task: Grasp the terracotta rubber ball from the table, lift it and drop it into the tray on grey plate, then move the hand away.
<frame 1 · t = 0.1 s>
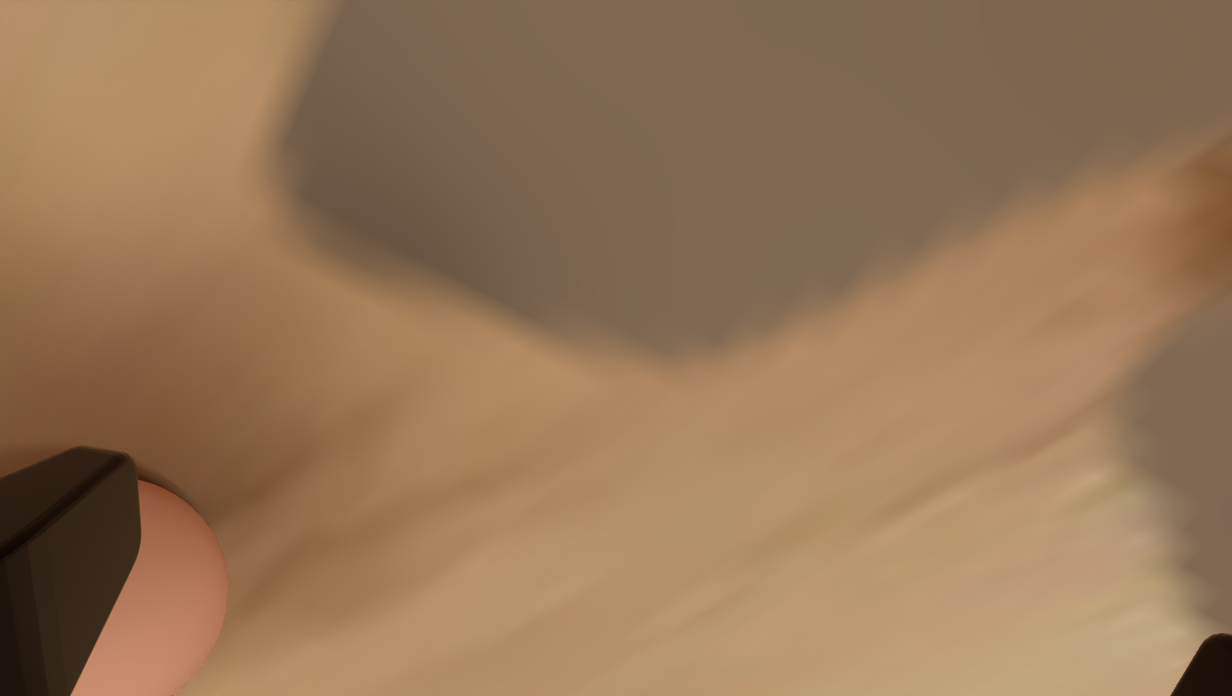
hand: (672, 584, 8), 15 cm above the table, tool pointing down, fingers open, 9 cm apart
terracotta ball: (96, 599, 24), point 3 cm above the table
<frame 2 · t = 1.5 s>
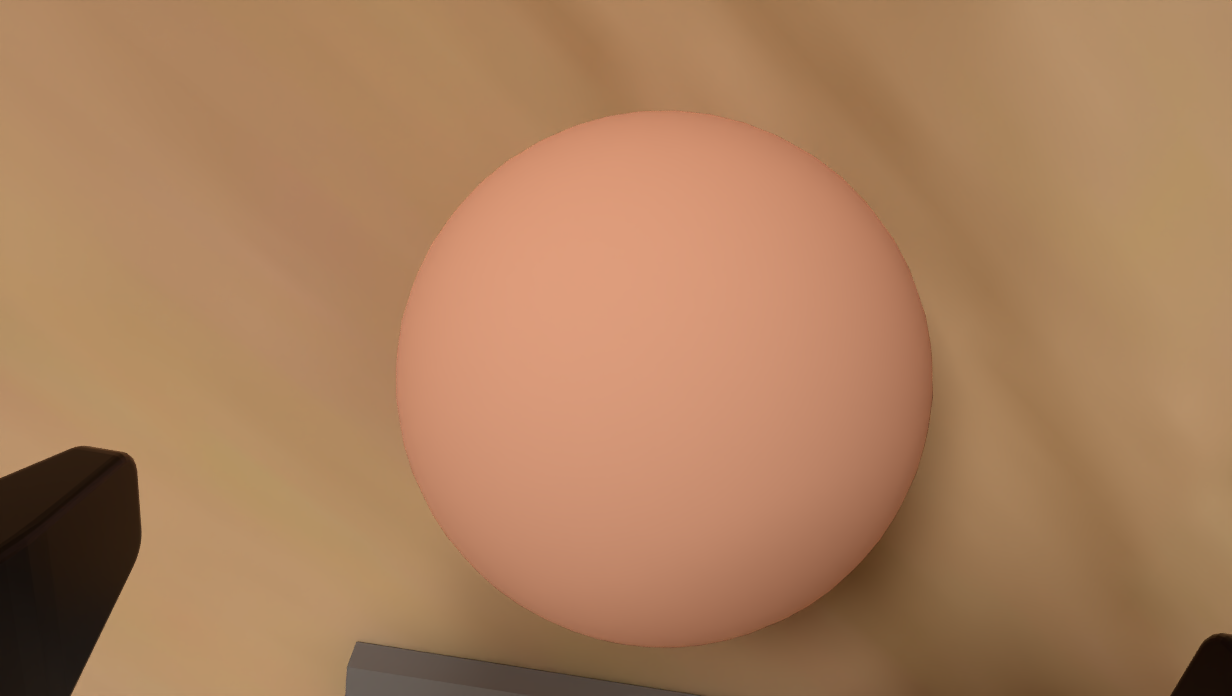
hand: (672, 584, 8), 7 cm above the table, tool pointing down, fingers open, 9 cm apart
terracotta ball: (661, 376, 12), point 3 cm above the table
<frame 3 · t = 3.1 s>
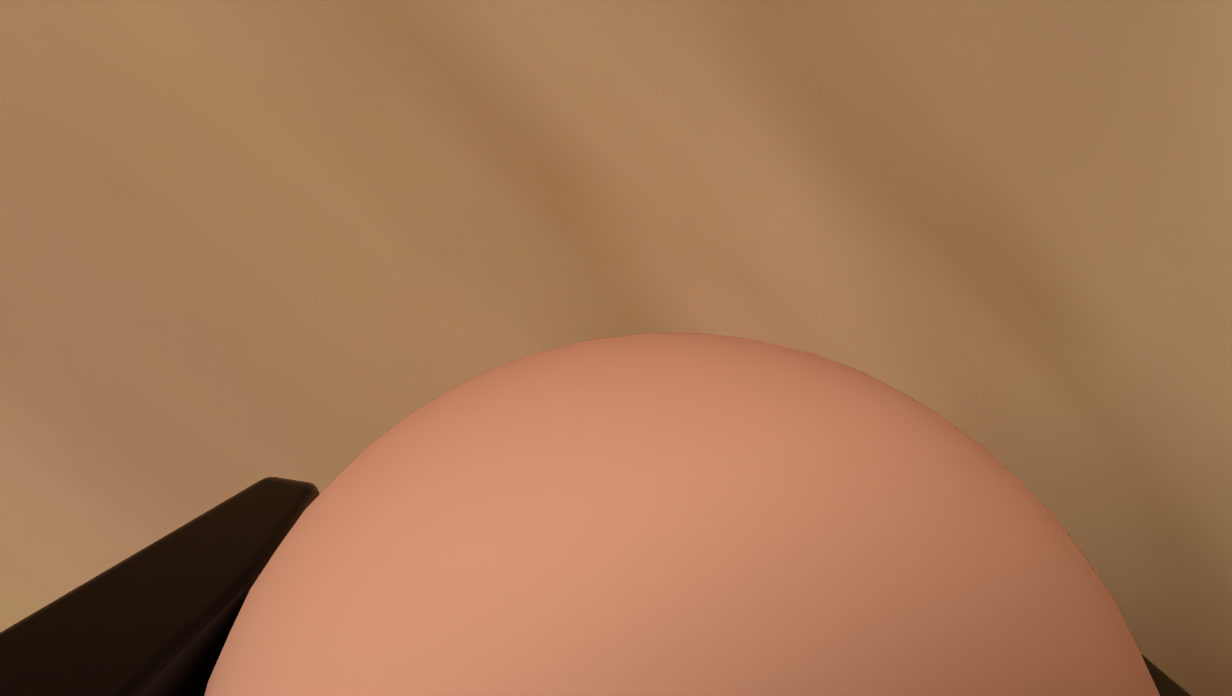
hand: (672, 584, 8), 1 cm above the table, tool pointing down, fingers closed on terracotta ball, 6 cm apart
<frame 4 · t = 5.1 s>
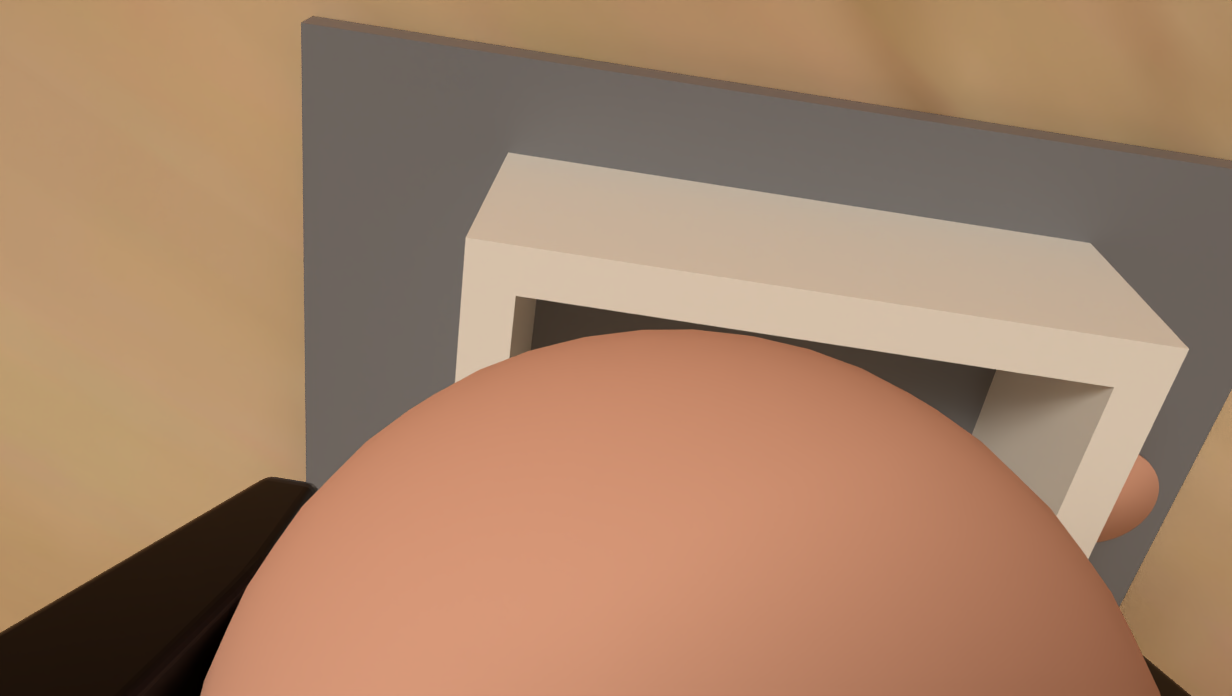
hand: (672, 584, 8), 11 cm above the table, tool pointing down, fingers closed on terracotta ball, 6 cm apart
tray on grey plate: (739, 424, 21), on the table
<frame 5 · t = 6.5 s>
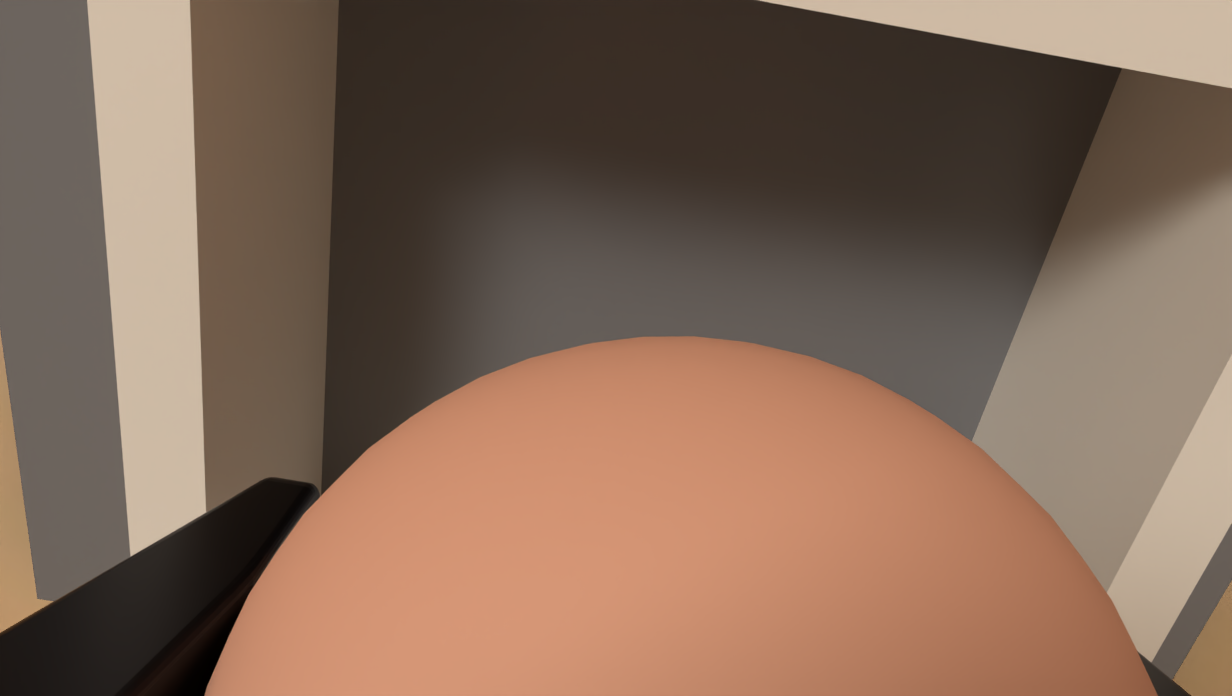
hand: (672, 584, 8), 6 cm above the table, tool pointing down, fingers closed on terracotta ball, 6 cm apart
tray on grey plate: (670, 289, 14), on the table
when the fingers open (6 cm above the table, at t = 7.3 s): terracotta ball drops 4 cm, resting on tray on grey plate.
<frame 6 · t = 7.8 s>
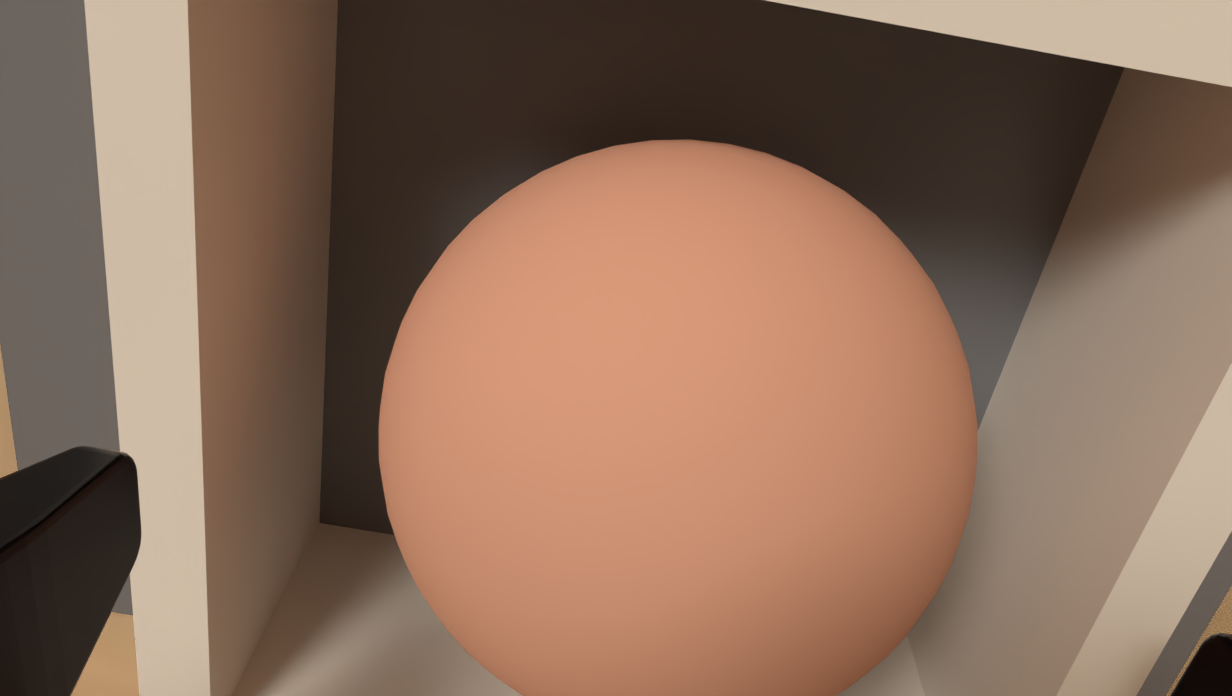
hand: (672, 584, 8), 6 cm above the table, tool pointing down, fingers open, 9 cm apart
tray on grey plate: (670, 289, 14), on the table
terracotta ball: (672, 432, 10), point 4 cm above the table, touching tray on grey plate
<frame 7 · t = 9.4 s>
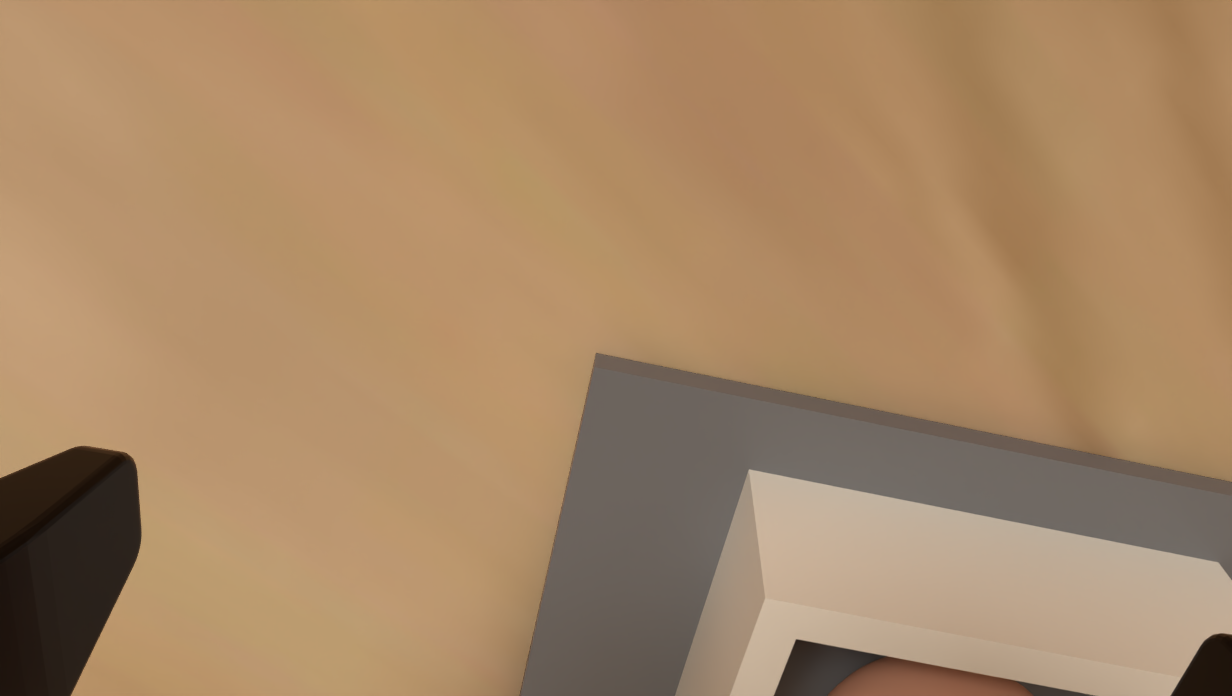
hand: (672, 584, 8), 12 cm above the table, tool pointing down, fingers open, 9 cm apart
tray on grey plate: (899, 670, 25), on the table
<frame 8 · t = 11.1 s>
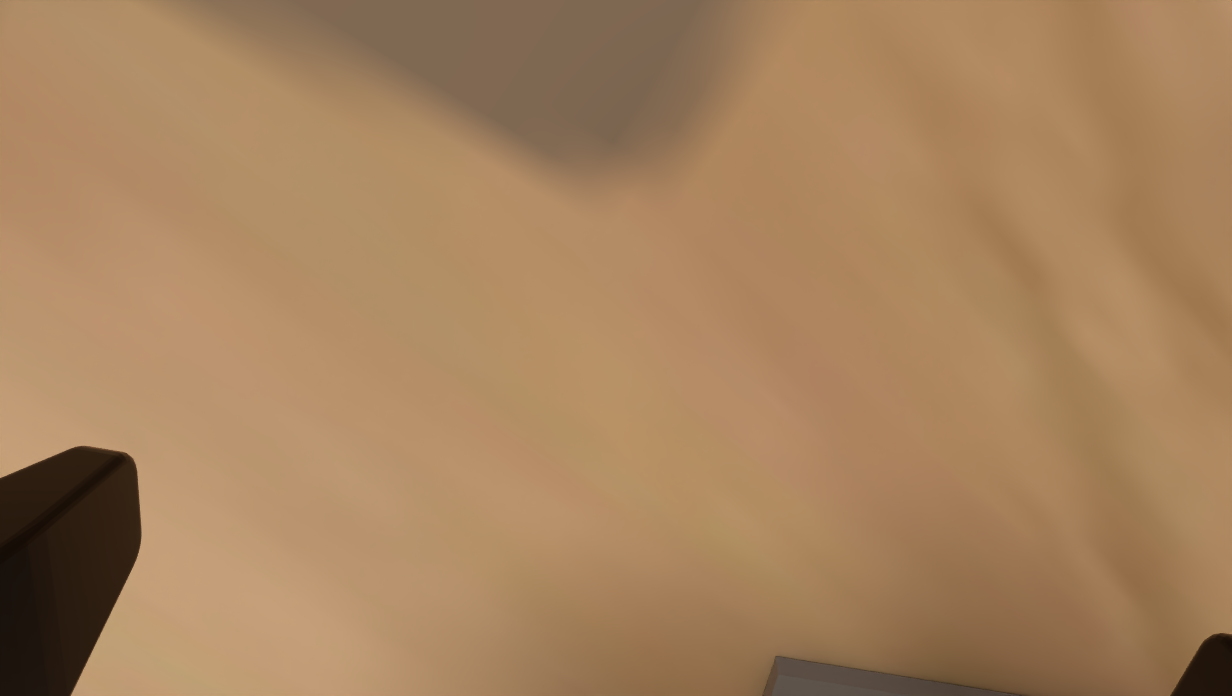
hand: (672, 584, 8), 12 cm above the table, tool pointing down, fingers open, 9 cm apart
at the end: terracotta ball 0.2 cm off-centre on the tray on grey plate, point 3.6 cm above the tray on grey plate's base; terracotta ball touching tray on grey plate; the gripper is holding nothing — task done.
